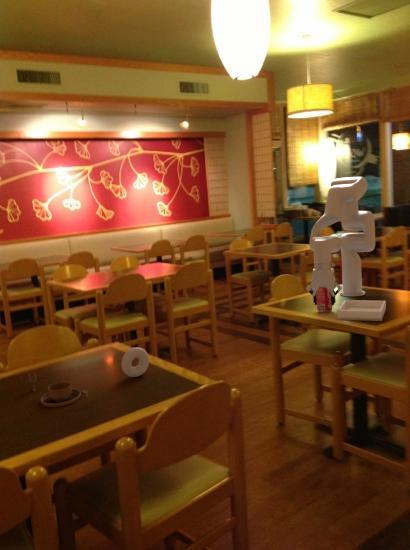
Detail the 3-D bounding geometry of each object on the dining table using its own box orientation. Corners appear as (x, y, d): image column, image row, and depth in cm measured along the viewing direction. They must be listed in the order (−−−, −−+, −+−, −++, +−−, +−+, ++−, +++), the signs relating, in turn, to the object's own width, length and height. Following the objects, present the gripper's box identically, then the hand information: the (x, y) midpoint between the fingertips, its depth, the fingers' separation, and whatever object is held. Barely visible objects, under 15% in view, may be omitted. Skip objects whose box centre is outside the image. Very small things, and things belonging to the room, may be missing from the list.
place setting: (31, 414, 153) (29, 395, 152) (28, 392, 172) (25, 374, 171) (92, 401, 159) (90, 383, 158) (82, 381, 178) (80, 364, 177)
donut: (126, 381, 172) (122, 352, 171) (120, 379, 175) (117, 350, 174) (152, 373, 178) (149, 344, 177) (147, 371, 181) (144, 342, 179)
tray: (344, 308, 246) (344, 300, 245) (385, 309, 239) (385, 300, 238) (337, 319, 228) (337, 310, 227) (381, 320, 221) (381, 311, 220)
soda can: (331, 308, 246) (330, 283, 244) (333, 312, 239) (332, 286, 237) (316, 309, 247) (314, 284, 245) (317, 313, 240) (316, 287, 238)
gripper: (343, 264, 239) (345, 302, 242) (305, 264, 246) (307, 302, 249) (341, 267, 233) (342, 307, 236) (301, 267, 240) (303, 306, 243)
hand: (324, 304), depth 243 cm, fingers closed on soda can, 7 cm apart
